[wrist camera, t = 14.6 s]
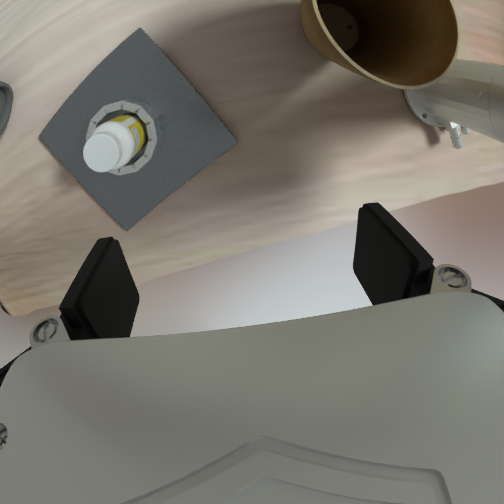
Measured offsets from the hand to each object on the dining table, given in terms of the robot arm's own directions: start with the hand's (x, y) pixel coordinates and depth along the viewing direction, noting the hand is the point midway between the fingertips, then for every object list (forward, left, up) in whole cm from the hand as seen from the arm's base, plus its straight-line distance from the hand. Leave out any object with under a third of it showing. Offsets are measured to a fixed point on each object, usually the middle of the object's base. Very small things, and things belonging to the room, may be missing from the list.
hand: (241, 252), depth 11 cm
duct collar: (+8, +10, -28) cm, 31 cm away
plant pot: (+4, -19, -28) cm, 35 cm away
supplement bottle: (+8, +10, -28) cm, 30 cm away
